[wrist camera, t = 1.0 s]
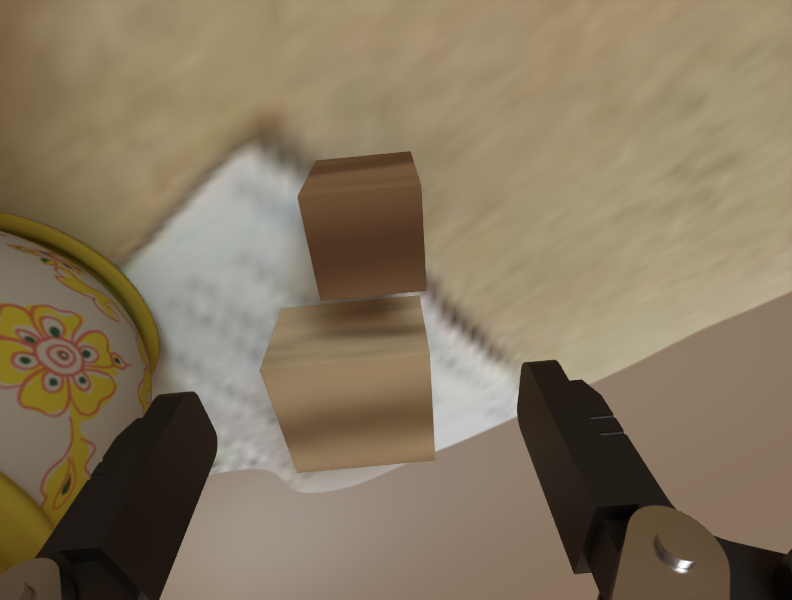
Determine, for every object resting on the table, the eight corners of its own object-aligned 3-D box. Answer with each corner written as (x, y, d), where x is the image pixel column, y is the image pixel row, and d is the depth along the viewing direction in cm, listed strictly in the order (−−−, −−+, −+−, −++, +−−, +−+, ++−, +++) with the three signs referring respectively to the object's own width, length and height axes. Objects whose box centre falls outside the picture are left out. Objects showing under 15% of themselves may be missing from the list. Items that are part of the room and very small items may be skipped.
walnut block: (316, 160, 21) (297, 196, 16) (410, 151, 21) (421, 184, 16) (332, 246, 24) (320, 300, 19) (415, 238, 24) (426, 290, 19)
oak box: (282, 307, 26) (259, 370, 21) (419, 294, 26) (429, 354, 21) (309, 402, 31) (297, 472, 26) (425, 392, 31) (435, 460, 26)
